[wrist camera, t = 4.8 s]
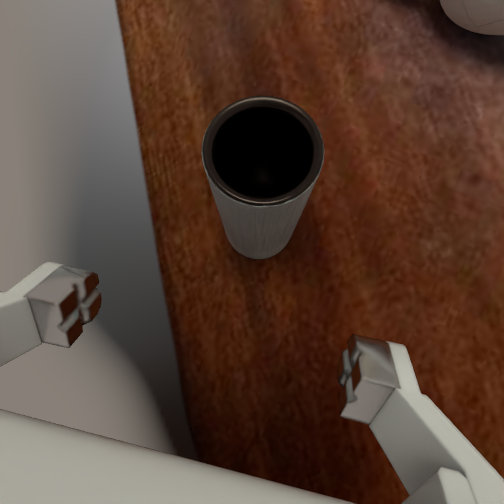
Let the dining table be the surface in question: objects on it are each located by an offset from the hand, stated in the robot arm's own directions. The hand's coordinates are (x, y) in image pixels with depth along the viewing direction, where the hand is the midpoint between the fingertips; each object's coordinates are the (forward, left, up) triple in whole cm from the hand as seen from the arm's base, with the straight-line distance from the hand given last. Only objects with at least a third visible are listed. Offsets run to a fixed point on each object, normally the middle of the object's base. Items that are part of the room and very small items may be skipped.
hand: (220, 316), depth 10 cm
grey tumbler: (-1, +6, -11) cm, 12 cm away
